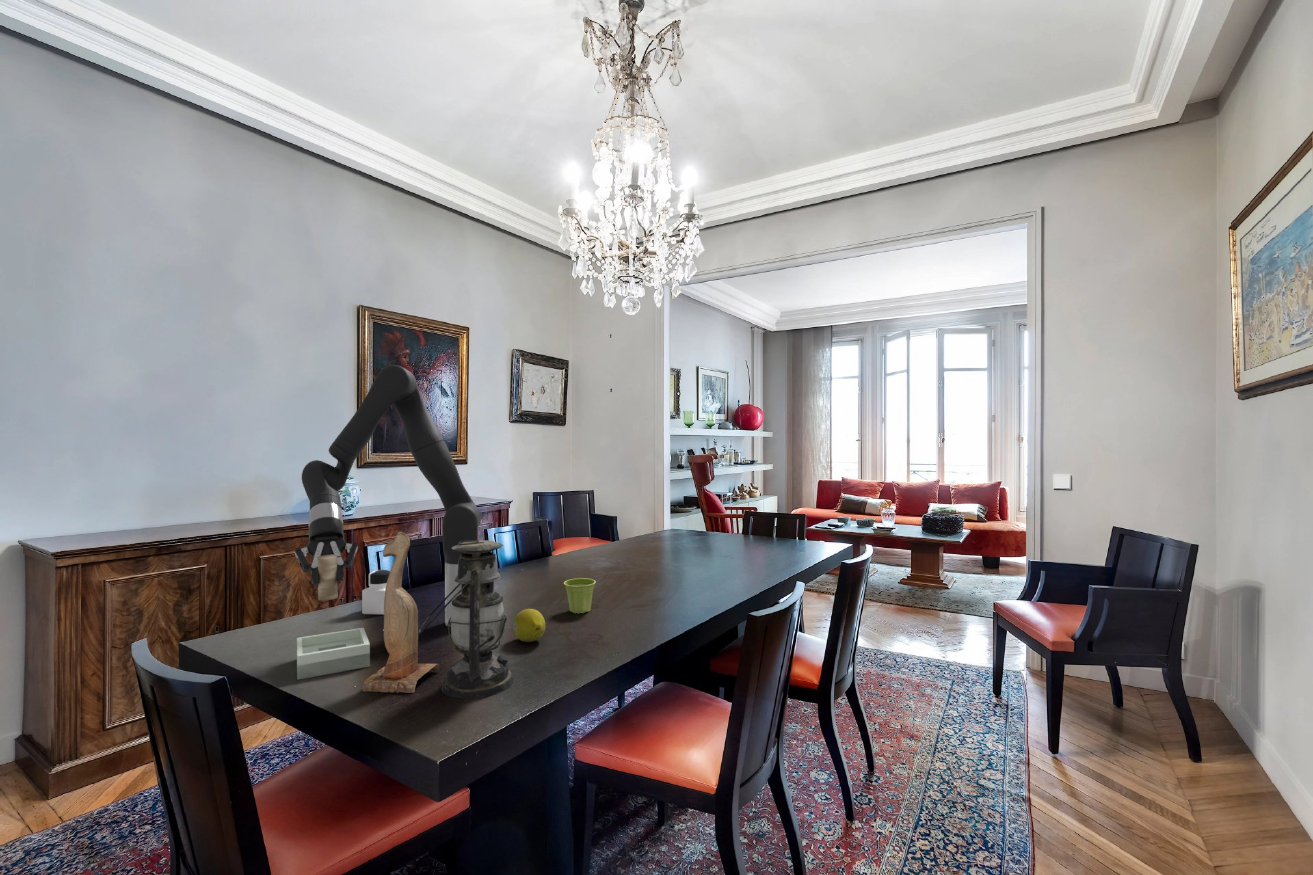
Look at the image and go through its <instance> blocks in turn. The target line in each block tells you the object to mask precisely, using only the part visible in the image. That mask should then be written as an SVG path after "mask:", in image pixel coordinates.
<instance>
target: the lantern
mask: <svg viewBox="0 0 1313 875" xmlns="http://www.w3.org/2000/svg"><path fill="white" fill-rule="evenodd" d="M462 542H463V543H462ZM460 543H461V544H460ZM503 546H504V545H503V543H500V542H497V541H493V540H487V539H486V540H484V539H483V540H480V539H478V540H468V541H460V542H459V543H458V545H456V546H453V547H452V549H453V550H455V551H458V552H461V556H460V558H459V560H458V574H457V576H456V577H455V580H454V581H455V582H457V583H459V584H458V585H457V586H456V587H455V588H454V589H453V590H452V592H451V593H450V594H449V595H448V596H447V597H446V598H445V597H444V599H443V600H442V601H441V602H440V603H439V604H438V605H437V606H436V607H435V608H434V609H433V610H432V612H431V613H430V614H429V615H428V616H427V618H426V619H425V621H424V622H423V623H422V625H421V626H420V627H418V636H419V635H420V634H422V633H423V632H424V631H425V630H426V629H427V628H428V627H429V625H431V623H432V622H434V621H435V619H436V618H437V617H438V616H439V615H441V613H442V612H443V611H445V608H446V606H447V605H448V604H449V603H450V602H451V601H452V600H453V599H454V598H455V597H456V596H457V595H458V594H459V593H460V592H461V591H462V594H460V595H458V596H457V597H456V599H454V600H453V601H452V605H453V609H452V613H451V618H450V619H451V621H450V619H449V621H448V626H447V631H448V636H449V640H450V642H451V643H452V645H453V646H454V650H455V651H456V652H458V653H460V654H463V658H460V660H457V662H454V664H452V665H451V666H449V667H448V668H447V670H446V677H445V678H444V681H443V683H442V685H441V688H440V689H441V692H442V693H443V694H445V696H447V697H451V698H454V699H462V700H463V699H464V700H470V699H480V698H482V699H483V698H487V697H491V696H495V695H497V694H499V693H502V692H505V691H506V690H507V689H509V688H510V687H512V685H513V684H514V681H515V679H514V676H513V673H512V672H511V670H510V669H509V666H510V665H509V664H510V663H508V662H509V658H508V657H506V656H505V655H502V654H500V655H498V656H496V655H494V654H493V651H494V650H496V649H498V648H499V647H501V640H502V638H503V636H504V633H505V627H506V622H507V620H508V618H507V617H506V614H505V609H504V605H503V604H504V603H503V601H504V597H503V596H502V595H500V593H498V592H496V591H494V590H495V589H494V588H495V586H494V585H495V582H496V581H498V580H500V579H501V574H500V573H499V571H498V562H497V560H498V559H497V556H496V554H495V552H494V551H495V550H498V549H501V548H502V547H503ZM463 553H465V554H463ZM461 583H462V584H461ZM460 584H461V588H462V589H461V590H460V591H459V592H458V593H457V594H456V595H455V596H454V597H453V598H452V599H451V600H450V601H449V602H448V603H447V604H446V605H445V604H444V606H443V607H442V608H441V609H440V610H439V611H438V613H436V614H435V615H434V617H432V619H431V620H430V621H429V622H428V623H427V621H428V620H429V619H430V617H431V616H432V615H433V614H434V613H435V612H436V611H437V610H438V609H439V607H441V605H442V604H443V603H445V600H446V599H447V598H448V597H449V596H450V595H451V594H452V593H453V592H454V591H455V590H456V589H457V588H458V587H459V586H460ZM426 623H427V624H426ZM425 624H426V625H425ZM449 624H450V626H451V627H449ZM450 632H451V633H450Z"/></svg>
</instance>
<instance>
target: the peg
mask: <svg viewBox="0 0 1313 875" xmlns="http://www.w3.org/2000/svg"><path fill="white" fill-rule="evenodd" d="M318 577H319V586H317V587H318V589H317V590H318V592H317V595H318V596H317V598H318V599H317V600H318V601H330V600H335V599H338V598H339V596H338V595H339V594H338V591H339V590H338V584H337V555H335V554H330V555H322V556H318Z"/></svg>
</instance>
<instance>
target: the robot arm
mask: <svg viewBox="0 0 1313 875" xmlns="http://www.w3.org/2000/svg"><path fill="white" fill-rule="evenodd" d="M371 384H372V385H371V386H370V388H369V390H368V391H367V394H366V396H365V397H364V399H363V401H362V402H361V404H360V405H359V407H358V409H357V410H356V412H354V414H353V416H352V417H351V419H350V420H349V421H348V422H347V424H346V425H345V426H344V428H343V429H342V430H341V431H340V433H339V434H338V435H337V437H335V439H334V441H333V442H332V443H331V444H330V445H329V448H328V453H329V455H331V457H333V458H334V459H335V460H337V463H336V465H335V466H334V465H331V464H329V463H327V462H325V461H322V460H314V459H313V460H312V461H309V462H308V463H307V464H306V465H305V466H304V467H303V469H302V473H301V483H302V486H303V489H304V490H305V494H306V497H307V498H308V500H309V515H308V543H307V546H305V547H303V548H300V547H295V548H294V556H295V558H296V560H297V563H298V565H299V567H300V569H301V571H302V572H303V573H305V574H306V573H310V574H311V584H312V585H314V586H315V587H318V586H319V577H318V556H322V555H330V554H335V555H337V585H338V584H342V582H343V581H344V579H345V571H344V570H345V569H346V568H349V569H350V568H351V567H352V565H353V563H354V561H355V560H354V559H355V557H356V555H357V552H358V548H359V547H358V545H359V544H358V542H353V543H349V542H348V543H347V541H346V540H345V536H344V521H343V520H344V519H343V513H342V504H341V502H342V501H341V496H340V493H339V492H340V491H341V490H342V489H343V488H344V486H345V484H346V483H347V480H348V478H349V475H350V473H351V470H352V467H353V465H354V463H355V461H356V459H357V458H358V456H359V455H360V454H361V452H362V451H363V449H364V448H365V447H366V446H367V444H368V443H369V442H370V440H371V438H372V436H373V435H374V433H375V430H376V429H377V426H378V424H379V422H380V420H381V419H382V418H383V416H384V415H385V413H386V412H387V411H388V410H389V409H390V408H391V406H392V405H393V406H394V408H395V410H396V411H397V413H398V416H399V417H400V419H401V422H402V425H403V428H404V429H403V430H404V433H405V437H406V442H407V445H408V448H409V451H410V453H411V455H412V457H413V459H414V462H415V463H416V466H417V467H418V469H419V470H420V472H421V473H422V475H423V476H424V477H425V479H426V480H427V482H429V484H430V485H431V486H432V488H433V489H434V490H435V492H436V493H437V495H438V497H439V498H440V501H441V503H442V506H443V508H444V511H445V513H444V515H443V518H442V549H443V551H442V552H443V554H444V599H445V598H446V597H447V596H448V595H449V594H450V593H451V592H452V590H453V589H454V588H455V587H456V586H457V585H458V584H459V583H457V582H455V581H454V580H455V577H456V576H457V574H458V560H459V558H460V556H461V552H458V551H455V550H453V549H452V547H453V546H456V545H458V543H459V542H460V541H468V540H479V538H478V537H479V534H478V533H479V529H478V528H479V527H480V524H481V519H482V517H481V512H480V510H479V508H478V507H477V505H476V503H475V502H474V501H473V500H474V499H472V497H471V496H470V494H469V492H468V490H467V489H466V487H465V485H464V483H463V481H462V478H461V476H460V474H459V471H458V469H457V466H456V463H455V462H454V459H453V456H452V454H451V453H450V449H449V448H448V446H447V444H446V441H445V439H444V437H443V436H442V434H441V432H440V430H439V428H438V426H437V425H436V423H435V422H434V419H433V418H432V416H431V415H430V413H429V411H428V409H427V407H426V405H425V402H424V399H423V397H422V393H421V391H420V389H419V385H418V383H417V380H416V377H415V376H414V374H413V373H412V372H411V371H410V370H408V369H407V368H405V367H403V366H400V365H397V364H390V365H387V366H385V367H383V368H381V370H379V372H378V373H377V375H376V377H375V379H374V381H373V383H371ZM462 543H463V542H462ZM460 544H461V543H460ZM345 550H347V553H348V555H347V556H346V559H345V560H343V558H342V555H341V554H342V553H344V551H345ZM307 554H310V556H312V557H313V560H312V563H311V564H310V563H309V562H308V560H307V558H306V557H307ZM463 554H465V553H463ZM461 584H462V583H461ZM461 584H460V586H459V587H458V588H457V589H456V590H455V591H454V592H453V593H452V594H451V595H450V596H449V597H448V598H447V599H446V600H445V601H444V606H445V605H446V604H447V603H448V602H449V601H450V600H451V599H452V598H453V597H454V596H455V595H456V594H457V593H458V592H459V591H460V590H461V589H462V588H461ZM460 594H462V591H461V592H460V593H459V594H458V595H460ZM458 595H457V596H458ZM457 596H456V597H457ZM456 597H455V598H454V599H456ZM454 599H453V600H454ZM453 600H452V601H453ZM452 601H451V602H450V603H449V604H448V605H447V606H446V608H445V609H444V611H445V612H444V619H445V620H444V621H445V622H444V623H445V626H446V627H448V621H449V619H450V618H451V613H452V609H453V605H452ZM450 621H451V619H450ZM449 628H451V626H450V624H449Z"/></svg>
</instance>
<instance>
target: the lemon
mask: <svg viewBox="0 0 1313 875" xmlns="http://www.w3.org/2000/svg"><path fill="white" fill-rule="evenodd" d="M512 625H513V626H512V628H513V629H512V630H513V632H514V633H513V634H515V636H516V638H517V639H518V640H520V641H521V642H525V643H533V642H536V641H537V640H540V638H542V637H543V635H544V634H545V632H546V621H545V618H544V615H543V614H542V613H541V612H540V611H539V610H537V609H535V608H524V609H522V610H521V611H519V612H518V613H517V614H516V616H515V618H514V620H513V624H512Z"/></svg>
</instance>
